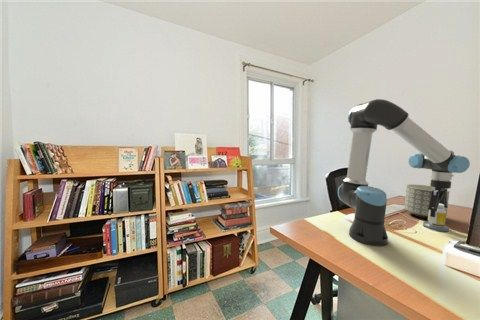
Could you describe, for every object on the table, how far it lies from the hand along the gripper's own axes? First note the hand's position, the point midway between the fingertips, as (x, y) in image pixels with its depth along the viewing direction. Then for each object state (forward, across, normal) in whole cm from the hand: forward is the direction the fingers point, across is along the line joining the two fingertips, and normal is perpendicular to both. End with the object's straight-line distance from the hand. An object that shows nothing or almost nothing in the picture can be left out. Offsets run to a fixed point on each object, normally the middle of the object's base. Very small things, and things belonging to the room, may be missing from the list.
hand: (436, 220), depth 105 cm
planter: (+4, +17, +10) cm, 20 cm away
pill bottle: (+3, 0, 0) cm, 3 cm away
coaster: (+4, 0, 0) cm, 4 cm away
